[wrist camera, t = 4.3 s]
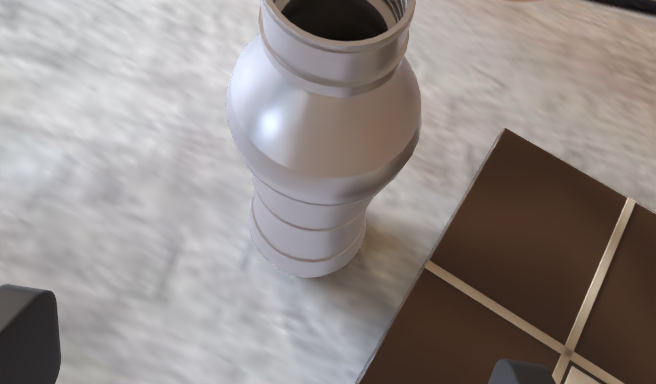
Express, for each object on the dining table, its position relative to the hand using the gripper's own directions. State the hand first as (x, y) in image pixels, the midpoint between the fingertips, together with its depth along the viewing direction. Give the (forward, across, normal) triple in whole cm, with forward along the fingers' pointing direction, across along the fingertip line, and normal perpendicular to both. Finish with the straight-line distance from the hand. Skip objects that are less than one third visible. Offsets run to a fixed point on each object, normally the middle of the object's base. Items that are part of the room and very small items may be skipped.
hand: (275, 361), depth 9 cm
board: (+16, +15, -11) cm, 25 cm away
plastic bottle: (+20, 0, -8) cm, 21 cm away
